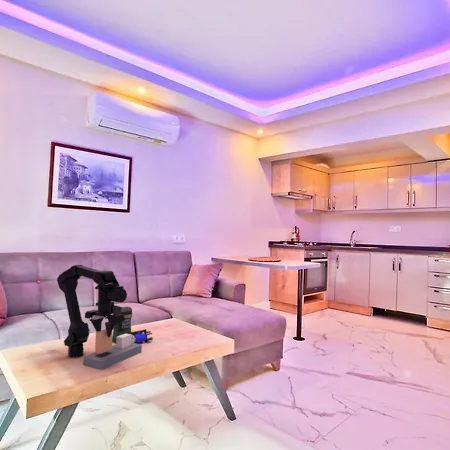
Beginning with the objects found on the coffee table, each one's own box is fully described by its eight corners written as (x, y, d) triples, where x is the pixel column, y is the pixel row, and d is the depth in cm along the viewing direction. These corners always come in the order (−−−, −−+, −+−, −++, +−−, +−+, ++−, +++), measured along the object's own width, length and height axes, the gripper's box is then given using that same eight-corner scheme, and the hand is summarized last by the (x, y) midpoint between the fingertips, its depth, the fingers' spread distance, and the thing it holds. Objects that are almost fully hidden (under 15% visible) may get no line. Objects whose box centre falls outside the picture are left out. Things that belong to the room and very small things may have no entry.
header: (83, 367, 143) (83, 356, 143) (124, 350, 164) (124, 341, 165) (101, 372, 138) (101, 361, 138) (141, 354, 159) (141, 344, 159)
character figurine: (154, 344, 175) (126, 350, 166) (148, 340, 181) (121, 345, 171) (155, 329, 175) (127, 335, 165) (149, 325, 180) (122, 330, 171)
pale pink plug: (116, 355, 155) (116, 336, 155) (125, 351, 160) (125, 333, 160) (121, 356, 153) (122, 337, 153) (131, 352, 158) (131, 334, 159)
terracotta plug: (95, 352, 144) (95, 332, 145) (106, 348, 150) (106, 328, 150) (101, 353, 143) (101, 333, 143) (111, 349, 148) (112, 329, 148)
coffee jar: (117, 346, 170) (118, 309, 170) (109, 343, 175) (110, 307, 176) (134, 342, 177) (135, 307, 177) (126, 339, 182) (127, 304, 183)
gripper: (134, 299, 150) (133, 334, 149) (104, 295, 158) (103, 328, 158) (115, 303, 140) (114, 341, 139) (84, 299, 149) (83, 334, 148)
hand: (104, 336), depth 146 cm, fingers open, 6 cm apart
